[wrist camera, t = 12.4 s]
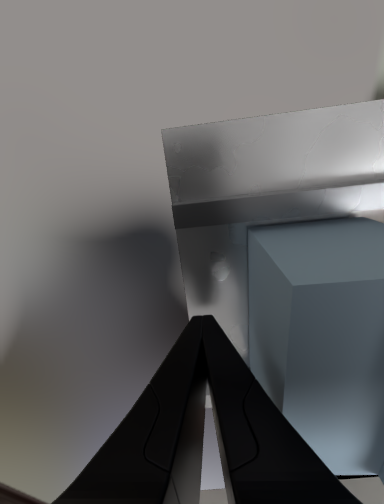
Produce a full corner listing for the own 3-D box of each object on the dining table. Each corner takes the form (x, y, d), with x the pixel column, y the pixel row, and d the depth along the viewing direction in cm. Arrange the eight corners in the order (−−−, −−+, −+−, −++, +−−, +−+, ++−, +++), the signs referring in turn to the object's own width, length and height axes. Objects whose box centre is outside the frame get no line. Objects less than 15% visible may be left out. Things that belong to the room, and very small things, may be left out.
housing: (334, 359, 10) (441, 515, 6) (249, 364, 10) (286, 514, 6) (362, 216, 7) (611, 294, 3) (248, 227, 8) (314, 313, 3)
